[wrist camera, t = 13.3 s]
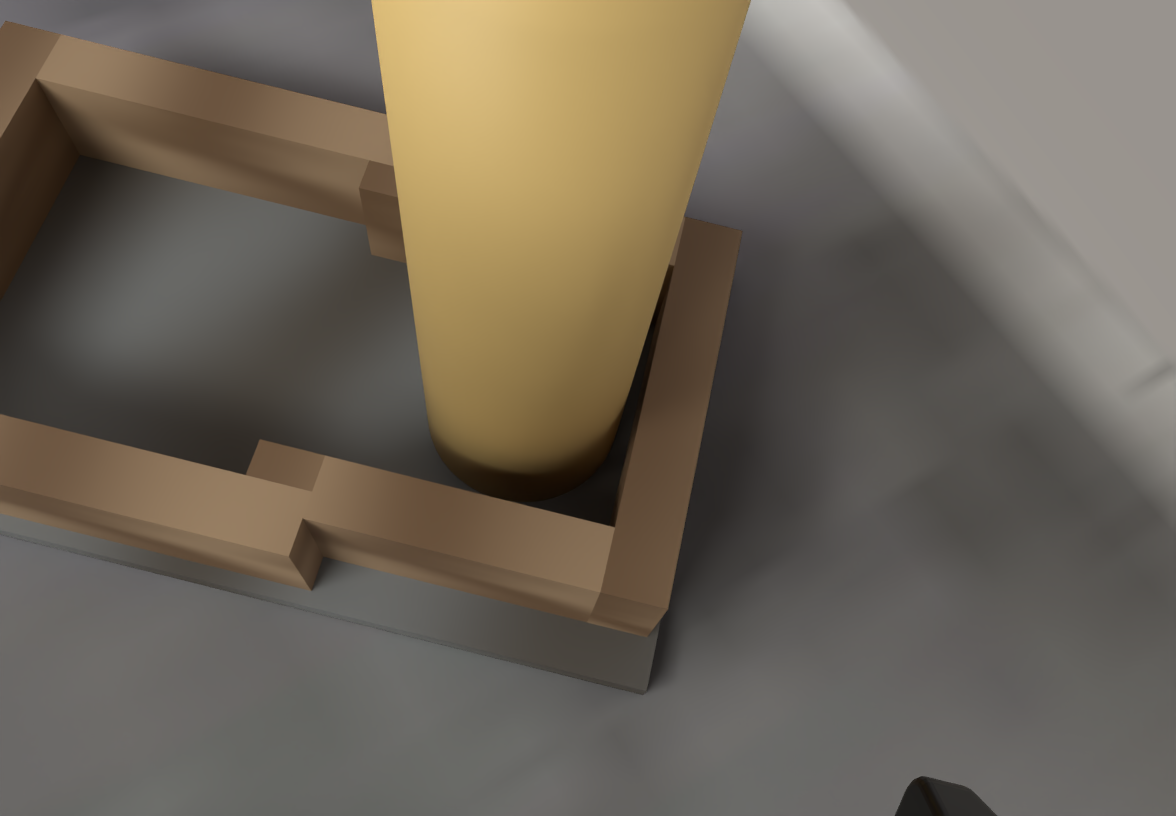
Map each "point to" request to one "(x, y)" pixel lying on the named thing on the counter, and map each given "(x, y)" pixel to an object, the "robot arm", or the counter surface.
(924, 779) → the robot arm
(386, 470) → the frame
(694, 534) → the counter surface
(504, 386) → the peg
